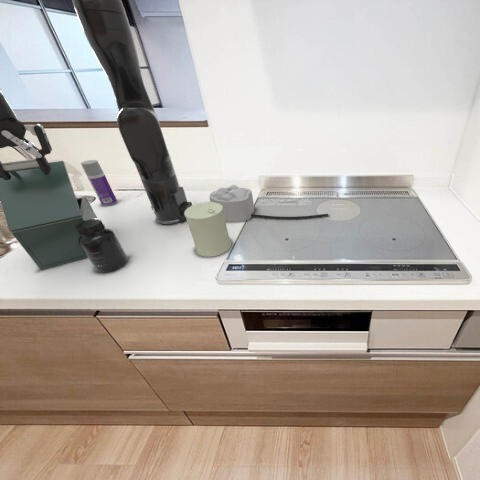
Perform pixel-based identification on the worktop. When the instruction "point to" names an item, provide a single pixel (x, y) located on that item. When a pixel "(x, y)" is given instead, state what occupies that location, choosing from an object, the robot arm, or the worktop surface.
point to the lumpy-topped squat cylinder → (234, 202)
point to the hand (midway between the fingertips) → (28, 175)
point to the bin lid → (37, 195)
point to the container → (99, 182)
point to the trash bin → (55, 239)
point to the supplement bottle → (100, 245)
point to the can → (208, 228)
